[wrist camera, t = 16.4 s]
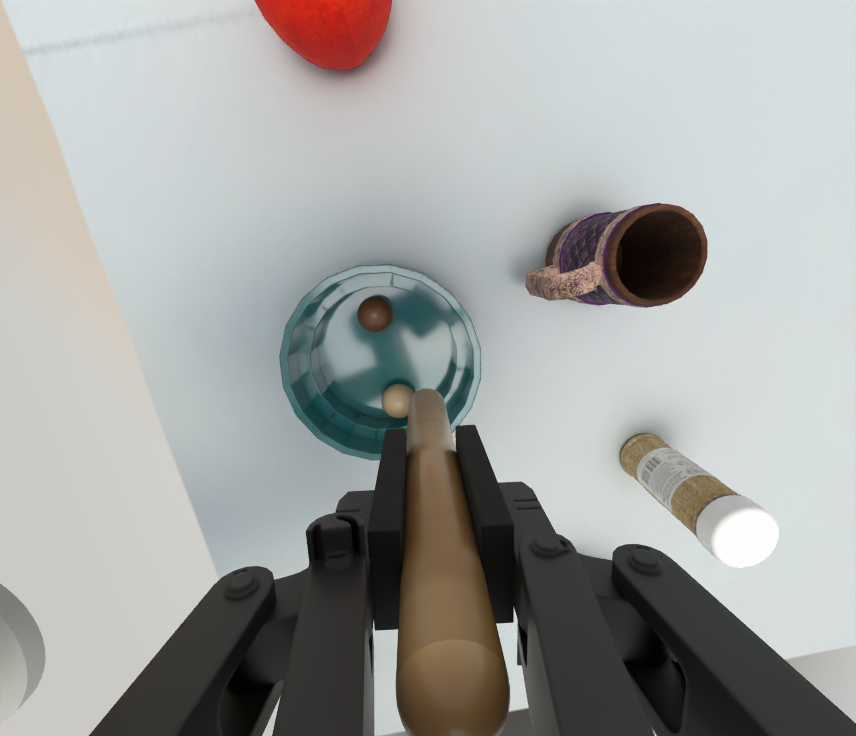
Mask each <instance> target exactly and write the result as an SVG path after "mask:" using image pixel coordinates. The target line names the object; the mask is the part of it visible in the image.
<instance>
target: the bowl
mask: <svg viewBox="0 0 856 736" xmlns="http://www.w3.org/2000/svg"><path fill="white" fill-rule="evenodd" d="M374 296H377V297H381V298H384V299H385V300H387V301H388V302H389V303H390V305H391V307H392V309H393V313H394V316H393V321H392V323H391V325H390V326H389V327H388V328H387V329H386V330H384V331H382V332H379V333H372V332H369V331H367V330H365V329H364V328H363V327H362V326H361V325H360V323H359V321H358V318H357V311H358V308H359V306H360V304H361V303H362V302H363V301H364V300H365V299H367V298H369V297H374ZM279 358H280V367H281V375H282V383H283V388H284V391H285V393H286V395H287V397H288V399H289V401H290V403H291V406H292V408H293V410H294V412H295V414H296V415H297V417H298V418H299V419H300V420H301V421H302V422H303V423H304V424H305V426H306V427H307V428H308V429H309V430H310V431H311V432H312V433H313V434H314V435H315V436H316V437H317V438H318V439H319V440H321V441H323V442H324V443H326V444H328V445H330V446H331V447H333V448H335V449H336V450H338V451H340V452H341V453H344V454H348V455H352V456H356V457H360V458H364V459H368V460H380V459H381V453H382V448H383V442H384V437H385V431H386V429H399V428H406V445H407V431H408V416H406V417H403V418H394V417H391V416H389V415H388V414H387V413H386V412H385V411H384V409H383V407H382V403H381V399H382V395H383V393H384V391H385V390H386V389H387V388H388V387H389V386H391V385H393V384H404V385H406V386H408V387H410V388H411V389H412V391H413V392H414V393H415V392H416V391H418V390H420V389H424V388H430V389H434V390H436V391H437V392H439V393H440V394H441V396H442V397H443V399H444V402H445V406H446V410H447V415H448V419H449V423H450V427H451V432H452V433H453V432H454V431H455V430H456V428H455V426H459V424H460V423H461V422H462V420H463V419H464V417H465V416H466V415H467V413H468V412H469V410H470V409H471V407H472V405H473V402H474V399H475V396H476V393H477V389H478V386H479V383H480V380H481V379H480V378H481V349H480V345H479V342H478V339H477V336H476V333H475V330H474V327H473V324H472V321H471V319H470V317H469V316H468V314H467V313H466V312H465V310H464V309H463V308H462V306H461V305H460V304H459V303H458V301H457V300H456V299H455V297H454V296H453V295H452V293H450V292H449V291H448V290H447V289H445V288H444V287H442V286H441V285H439V284H438V283H436V282H435V281H433V280H432V279H430V278H429V277H428V276H426V275H425V274H423V273H420V272H416V271H413V270H410V269H406V268H403V267H399V266H396V265H364V266H356V267H353V268H351V269H348V270H346V271H343V272H340V273H338V274H335V275H332V276H330V277H328V278H326V279H325V280H323V281H322V282H321V283H320V284H319V285H318V286H316V287H315V288H314V289H313V290H312V291H310V292H309V293H308V294H307V295H306V296H304V297H303V298H302V299H301V301H300V303H299V304H298V306H297V308H296V309H295V311H294V313H293V314H292V316H291V318H290V319H289V321H288V323H287V324H286V327H285V332H284V336H283V341H282V346H281V351H280V357H279Z"/></svg>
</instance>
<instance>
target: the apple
mask: <svg viewBox="0 0 856 736" xmlns="http://www.w3.org/2000/svg"><path fill="white" fill-rule="evenodd" d="M255 2H256V4H257V6H258V8H259V9H260V11H261V13H262V15H263V16H264V18H265V20H266V21H267V22H268V23H269V24H270V26H271V27H272V28H273V29H274V31H275V32H276V33H277V34H278V35H279V37H280V38H281V39H282V40H283V41H284V42H285V43H286V44H287V45H289V46H290V47H291V48H292V49H293V50H295V51H296V52H297V53H298V54H300V55H301V56H302V57H304V58H305V59H306V60H308V61H309V62H311V63H313V64H315V65H317V66H320V67H322V68H326V69H332V70H347V69H351V68H355V67H358V66H360V65H361V64H362V63H363V62H364V61H365V60H366V59H367V57H368V56H369V55H370V54H371V53H372V51H373V50H374V49H375V47H376V46H377V45H378V43H379V42H380V40H381V38H382V36H383V34H384V32H385V30H386V27H387V23H388V19H389V15H390V11H391V5H392V0H255Z"/></svg>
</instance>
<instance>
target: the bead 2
mask: <svg viewBox="0 0 856 736" xmlns="http://www.w3.org/2000/svg"><path fill="white" fill-rule="evenodd" d="M413 394H414V392H413V391H412V389H411V388H410V387H408V386H406V385H404V384H393V385H391V386H389V387H388V388H387V389H386V390H385V391H384V393H383V395H382V399H381V403H382V407H383V409H384V411H385V412H386V413H387V414H388V415H389V416H391V417H394V418H403V417H406V416H408V409H409V401H410V398H411V397H412V395H413Z"/></svg>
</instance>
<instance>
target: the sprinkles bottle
mask: <svg viewBox="0 0 856 736" xmlns="http://www.w3.org/2000/svg"><path fill="white" fill-rule="evenodd" d="M620 457H621V458H620V459H621V464H622V466H623V469H624V470H625V471H626V472H627V473H628V474H629V475H631V476H633V477H634V478H635V479H636V480H637V481H638V482H639V483H640V484H641V485H642V486H643V487H644V488H645V489H646V490H647V491H648V492H649V493H650V494H651V495H652V496H653V497H654V498H655V499H656V500H657V501H658V502H659V503H660V504H661V505H662V506H663V507H665V508H667V509H668V510H669V511H670V512H671V513H672V514H673V515H674V516H675V517H676V518H677V519H678V520H680V521H681V522H682V523H683V524H684V525H685V526H686V527H687V528H688V529H689V530H690V531H692V532H693V533H694V534H695V535H696V537H697V538H698V540H699V542H700V543H701V544H702V545H703V547H705V548H706V549H707V550H708V551H709V552H710V553H711V554H712V555H713V556H714V557H715V558H717V559H718V560H719V561H720V562H722V563H723V564H725V565H728V566H731V567H737V568H743V567H749V566H753V565H755V564H757V563H759V562H761V561H763V560H764V559H765V558H767V557H768V556H769V555H770V554H771V553H772V551H773V550H774V548H775V547H776V544H777V542H778V538H779V528H778V524H777V522H776V520H775V518H774V517H773V516H772V515H771V514H770V513H769V512H768V511H766V510H765V509H764V508H762V507H761V506H759V505H758V504H756V503H755V502H754V501H752V500H751V499H749V498H747V497H744V496H741V495H739V494H737V493H736V492H734V491H733V490H731V489H730V488H729V487H727V486H725V485H724V484H723V483H721V482H720V481H719V480H718V479H717V478H715V477H714V476H712V475H711V474H709V473H708V472H707V471H705V470H704V469H702V468H701V467H699V466H698V465H696V464H695V463H694V462H692V461H691V460H689V459H688V458H686V457H685V456H684V455H682V454H681V453H679V452H678V451H676V450H674V449H672V448H671V447H669V446H668V445H667V444H665V443H664V442H663V441H662V440H661V439H660V438H659V437H657V436H655V435H651V434H641V435H638V436H635V437H633V438H632V439H630V440H629V441H628V442H627V443H626V444H625V446H624V447H623V449H622V452H621V456H620Z"/></svg>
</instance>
